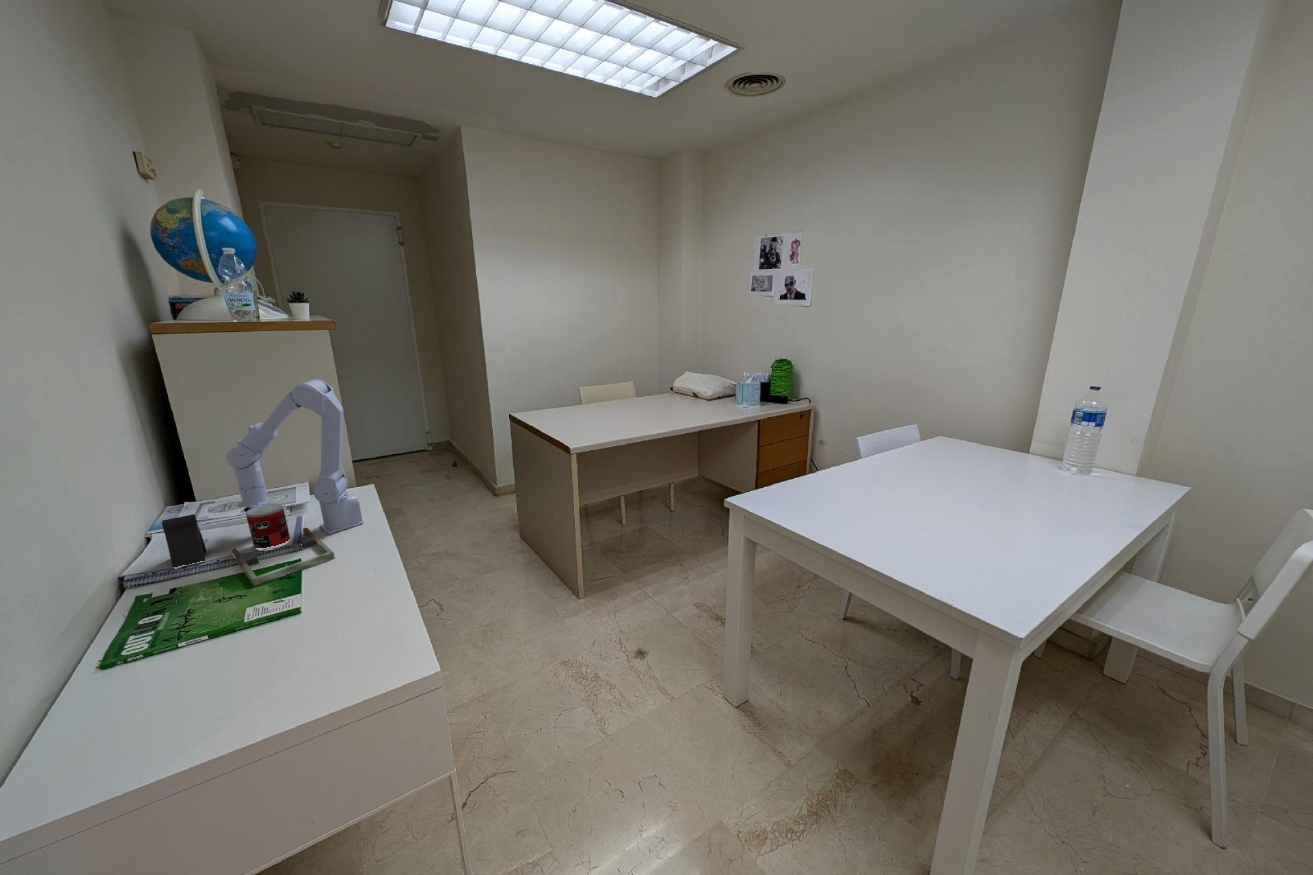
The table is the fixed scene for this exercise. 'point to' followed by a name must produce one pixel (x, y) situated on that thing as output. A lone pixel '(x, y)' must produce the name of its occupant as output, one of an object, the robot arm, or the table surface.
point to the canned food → (268, 525)
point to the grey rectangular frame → (288, 569)
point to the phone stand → (184, 540)
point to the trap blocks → (253, 559)
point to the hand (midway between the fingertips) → (262, 529)
